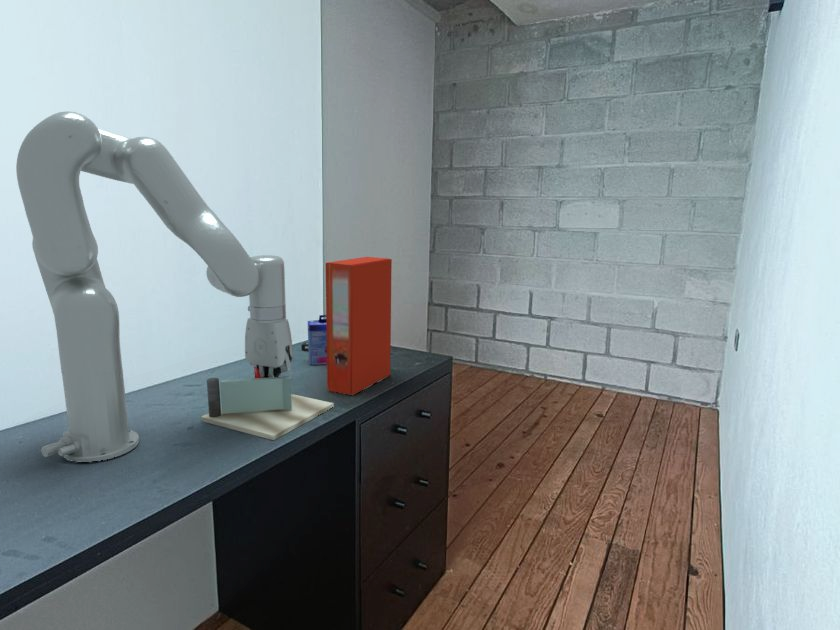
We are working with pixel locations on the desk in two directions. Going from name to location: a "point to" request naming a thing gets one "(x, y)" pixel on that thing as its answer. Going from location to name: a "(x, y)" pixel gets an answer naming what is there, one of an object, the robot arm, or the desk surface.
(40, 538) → the desk surface
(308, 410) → the gate base
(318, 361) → the ink cartridge box
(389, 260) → the file binder
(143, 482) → the desk surface
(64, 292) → the robot arm
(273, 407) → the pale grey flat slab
